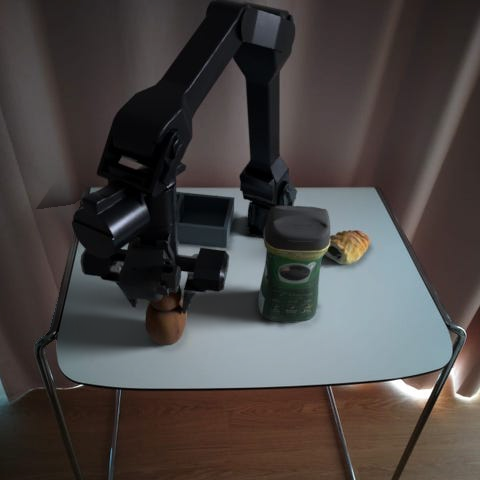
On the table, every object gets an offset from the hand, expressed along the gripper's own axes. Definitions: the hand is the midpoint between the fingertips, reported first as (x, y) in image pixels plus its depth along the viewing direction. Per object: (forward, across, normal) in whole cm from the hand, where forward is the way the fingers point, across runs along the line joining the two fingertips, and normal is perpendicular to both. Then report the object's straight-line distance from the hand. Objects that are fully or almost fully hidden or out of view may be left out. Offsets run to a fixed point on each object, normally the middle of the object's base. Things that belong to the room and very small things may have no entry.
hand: (159, 308), depth 71 cm
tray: (+5, -4, +29) cm, 30 cm away
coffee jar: (+6, +19, +10) cm, 22 cm away
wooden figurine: (+7, +1, +1) cm, 7 cm away
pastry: (+5, +28, +26) cm, 39 cm away
